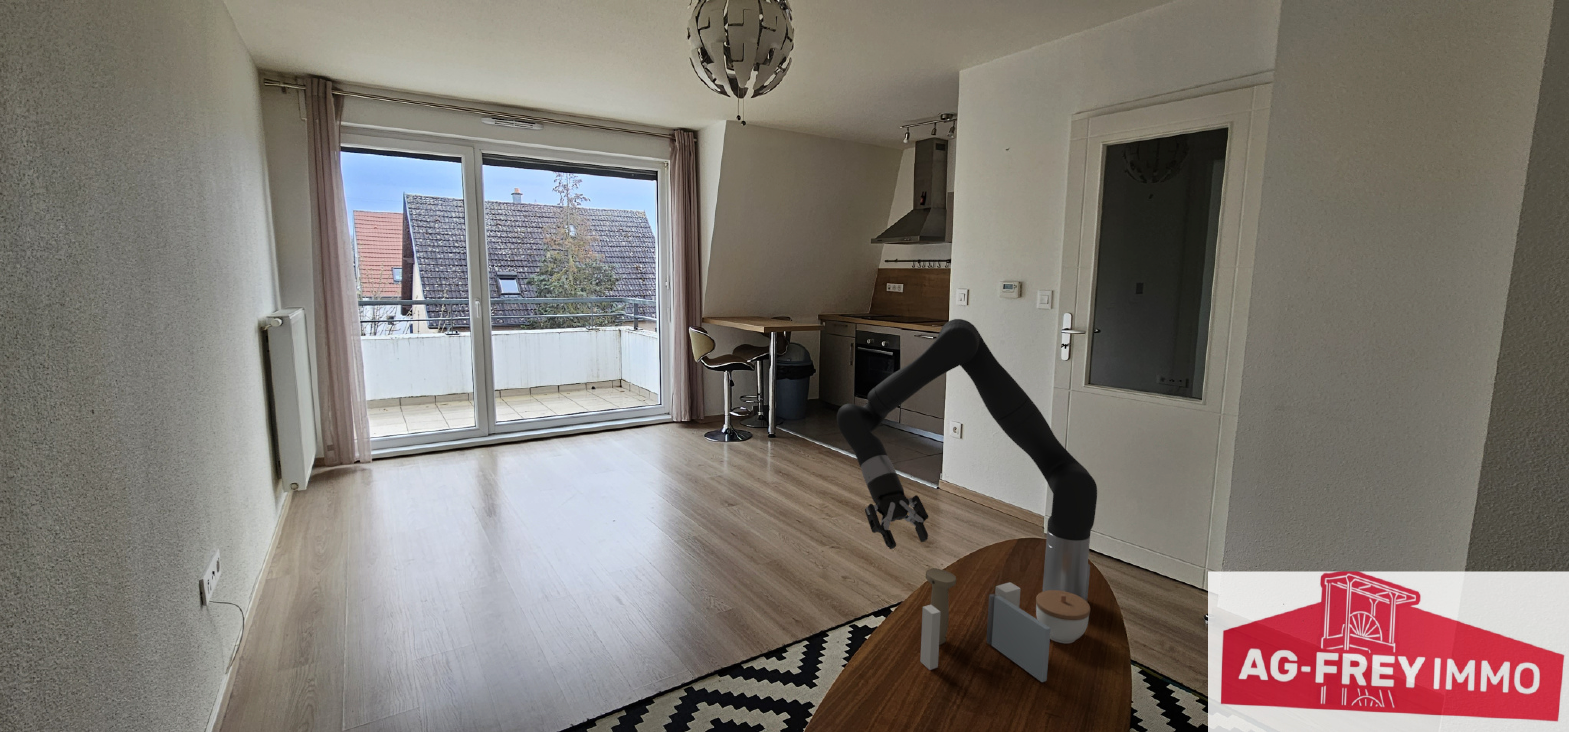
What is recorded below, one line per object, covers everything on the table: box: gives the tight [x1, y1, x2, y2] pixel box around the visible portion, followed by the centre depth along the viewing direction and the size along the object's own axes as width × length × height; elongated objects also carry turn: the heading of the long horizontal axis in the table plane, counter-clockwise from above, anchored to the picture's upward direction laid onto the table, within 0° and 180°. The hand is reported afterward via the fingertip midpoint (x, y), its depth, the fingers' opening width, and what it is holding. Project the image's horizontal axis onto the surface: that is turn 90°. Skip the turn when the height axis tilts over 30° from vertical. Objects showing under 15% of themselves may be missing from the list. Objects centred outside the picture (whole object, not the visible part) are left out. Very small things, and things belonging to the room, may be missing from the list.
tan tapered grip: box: [925, 567, 957, 646], centre depth 142 cm, size 5×6×15 cm
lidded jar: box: [1035, 590, 1091, 645], centre depth 145 cm, size 11×11×9 cm
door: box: [985, 593, 1051, 683], centre depth 135 cm, size 15×2×11 cm, turn 26°
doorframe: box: [919, 581, 1021, 671], centre depth 139 cm, size 23×3×12 cm, turn 116°
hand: (909, 544), depth 150 cm, fingers open, 8 cm apart
